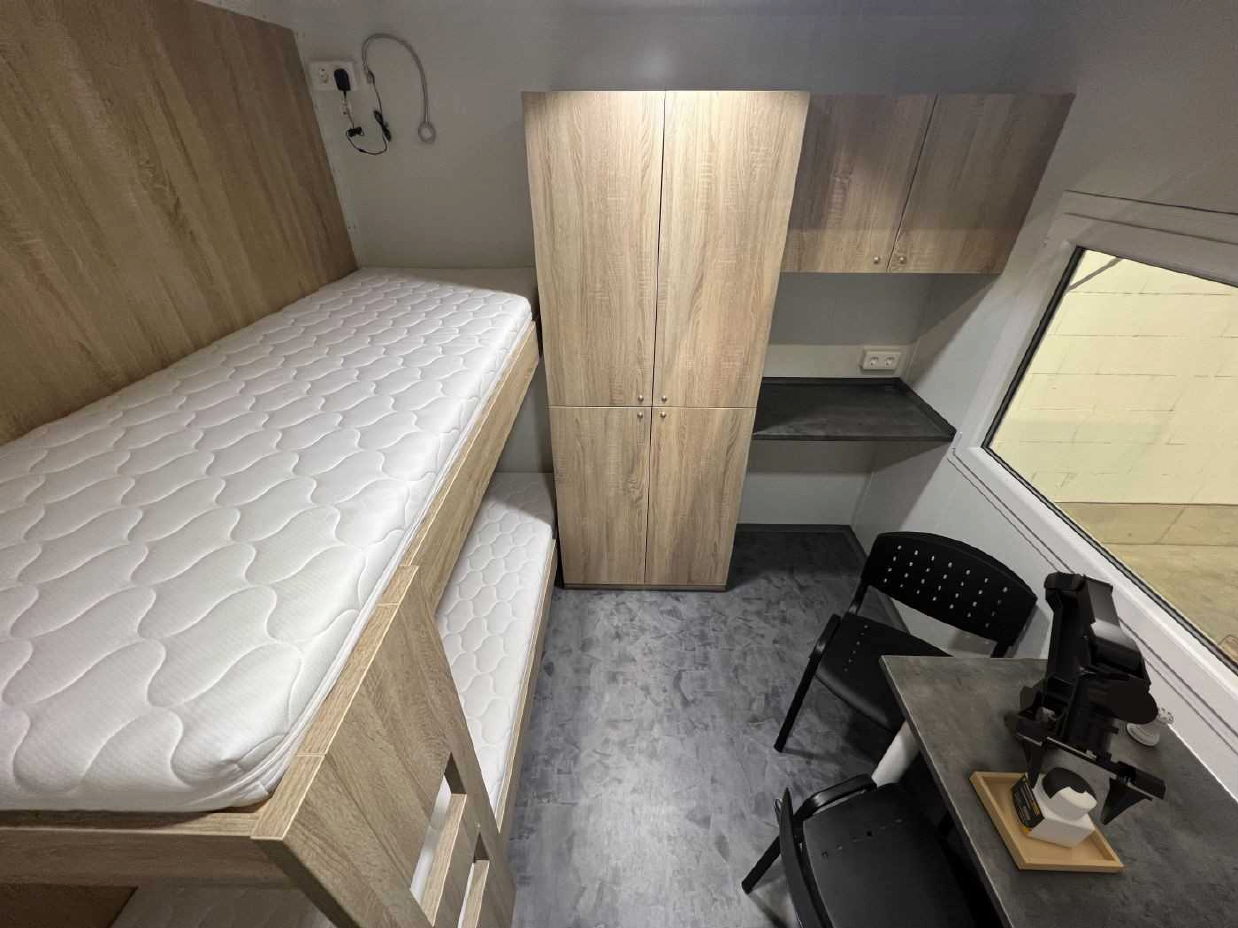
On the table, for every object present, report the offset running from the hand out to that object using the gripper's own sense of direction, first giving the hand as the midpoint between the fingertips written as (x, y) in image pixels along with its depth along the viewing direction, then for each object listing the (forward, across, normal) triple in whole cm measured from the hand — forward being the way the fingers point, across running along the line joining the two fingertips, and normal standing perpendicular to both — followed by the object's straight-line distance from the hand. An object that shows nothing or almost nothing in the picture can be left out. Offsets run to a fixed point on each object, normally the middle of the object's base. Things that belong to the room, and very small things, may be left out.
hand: (1065, 805), depth 77 cm
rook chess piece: (-16, -19, -29) cm, 38 cm away
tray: (+5, 0, -8) cm, 9 cm away
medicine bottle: (+5, 0, -7) cm, 9 cm away
